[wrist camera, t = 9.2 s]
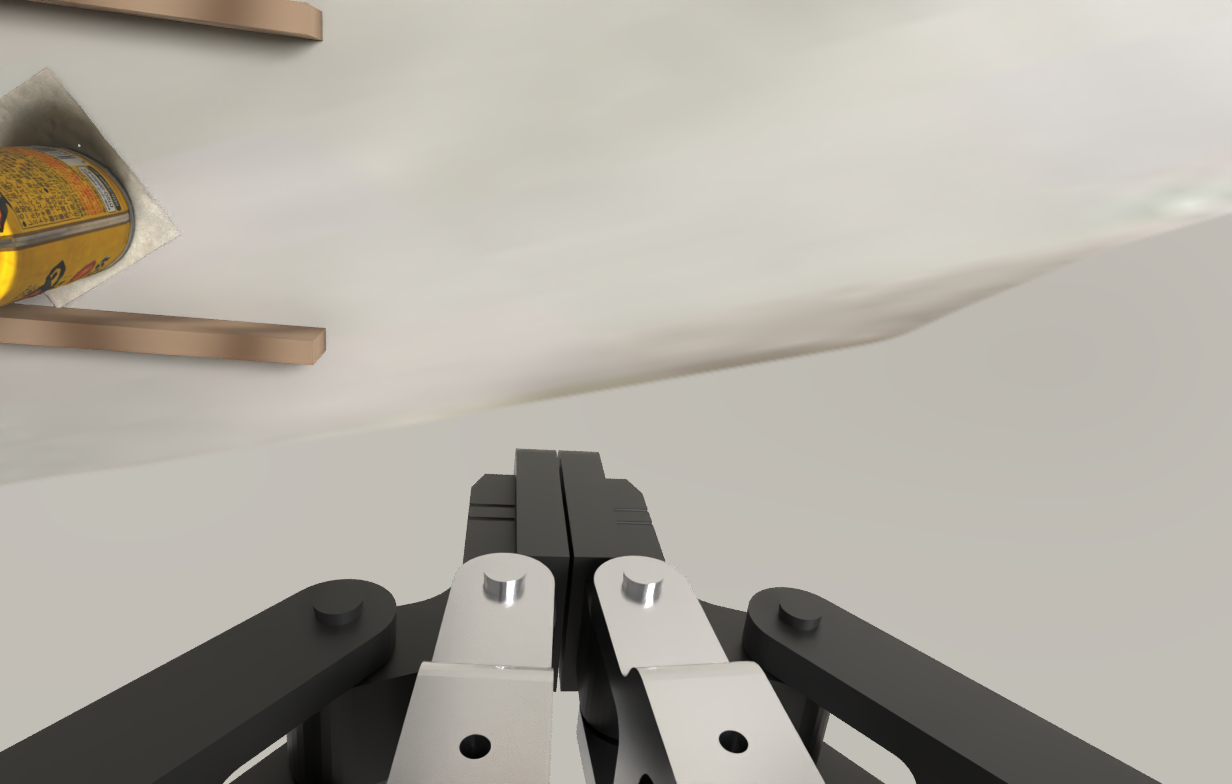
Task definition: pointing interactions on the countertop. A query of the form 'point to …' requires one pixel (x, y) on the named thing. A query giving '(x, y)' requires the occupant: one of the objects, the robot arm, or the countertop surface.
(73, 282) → the condiment
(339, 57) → the countertop surface
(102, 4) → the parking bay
